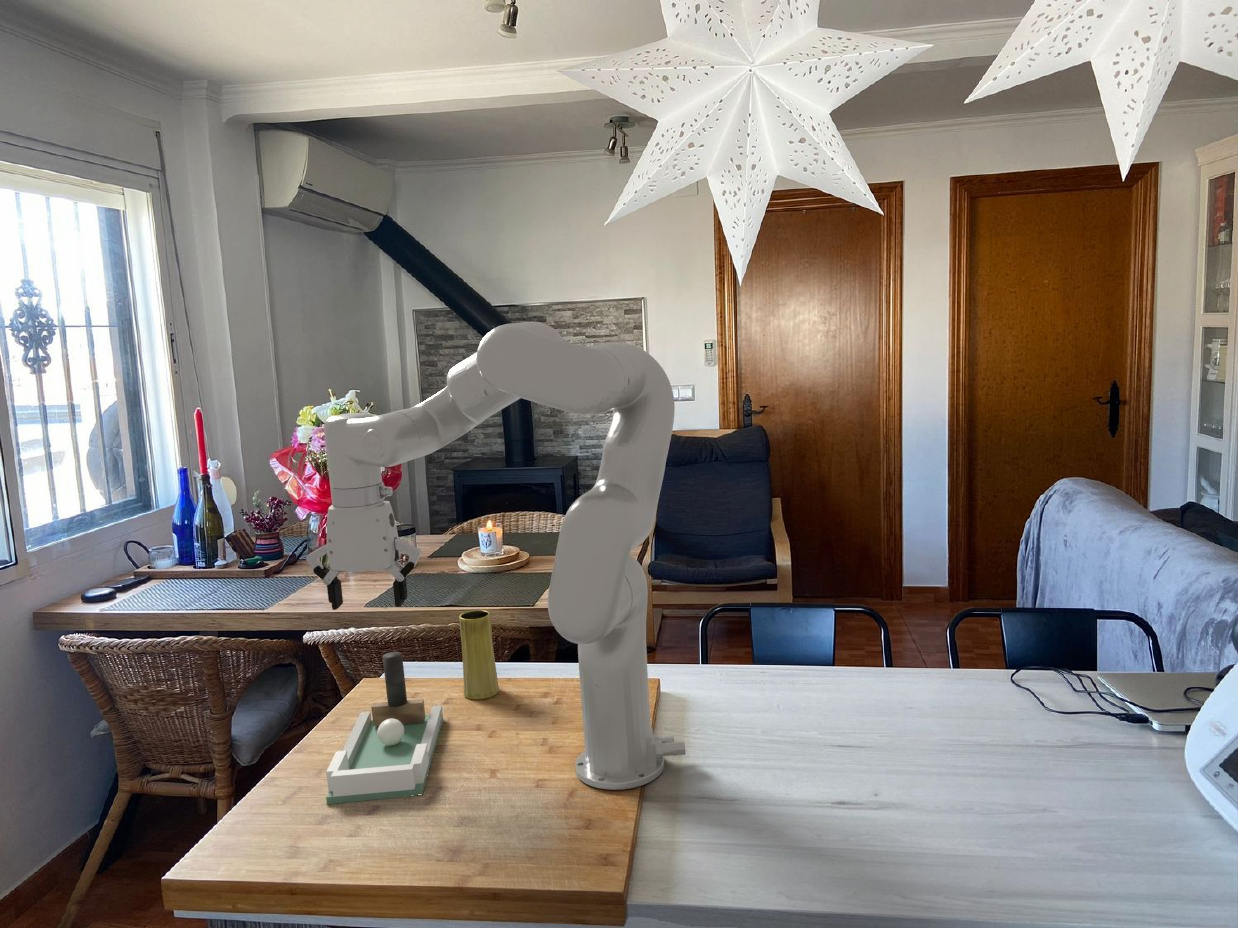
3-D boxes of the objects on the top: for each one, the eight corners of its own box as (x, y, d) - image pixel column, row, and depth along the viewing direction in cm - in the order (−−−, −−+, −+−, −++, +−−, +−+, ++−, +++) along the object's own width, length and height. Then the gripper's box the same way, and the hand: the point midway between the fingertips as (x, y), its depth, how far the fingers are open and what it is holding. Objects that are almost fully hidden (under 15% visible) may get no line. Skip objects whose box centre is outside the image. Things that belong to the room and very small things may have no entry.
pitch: (443, 719, 152) (440, 696, 151) (422, 795, 128) (419, 768, 128) (362, 726, 151) (359, 703, 151) (326, 803, 128) (323, 776, 127)
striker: (426, 715, 151) (419, 649, 149) (423, 723, 148) (416, 656, 146) (376, 719, 150) (368, 653, 148) (372, 727, 147) (364, 660, 145)
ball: (407, 737, 144) (404, 712, 143) (403, 749, 140) (400, 724, 140) (381, 739, 144) (378, 715, 143) (376, 751, 140) (373, 726, 139)
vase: (506, 691, 162) (499, 612, 159) (478, 703, 157) (471, 622, 155) (484, 683, 166) (477, 606, 163) (456, 694, 161) (449, 616, 159)
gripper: (420, 488, 143) (430, 595, 146) (309, 493, 143) (321, 600, 146) (408, 498, 135) (419, 611, 138) (291, 504, 136) (304, 616, 139)
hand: (369, 605), depth 142 cm, fingers open, 9 cm apart
